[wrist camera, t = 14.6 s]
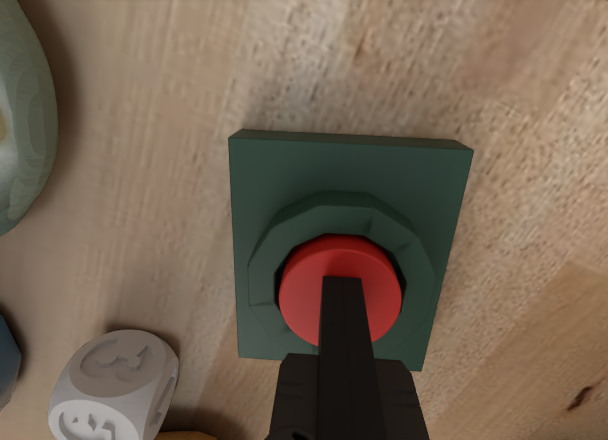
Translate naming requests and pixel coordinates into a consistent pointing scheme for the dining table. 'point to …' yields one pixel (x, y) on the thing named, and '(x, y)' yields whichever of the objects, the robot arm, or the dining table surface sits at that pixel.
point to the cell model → (23, 116)
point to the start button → (342, 263)
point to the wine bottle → (8, 364)
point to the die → (115, 388)
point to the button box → (342, 224)
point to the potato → (183, 436)
